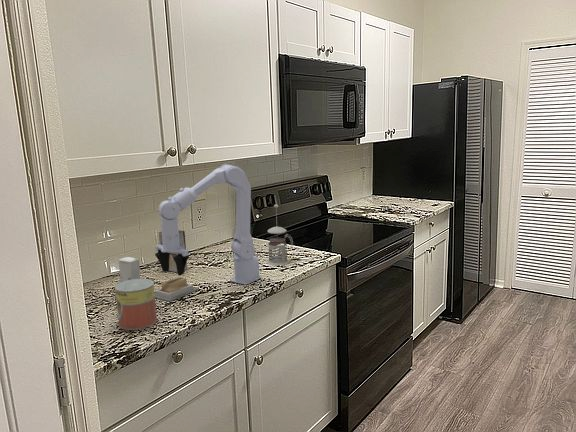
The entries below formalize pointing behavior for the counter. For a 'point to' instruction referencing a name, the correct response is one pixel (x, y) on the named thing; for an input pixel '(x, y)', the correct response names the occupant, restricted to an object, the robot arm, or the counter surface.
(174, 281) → the maple block
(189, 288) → the board
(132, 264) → the skincare box
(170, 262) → the coffee box
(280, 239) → the french press
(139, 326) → the canned food
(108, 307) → the counter surface
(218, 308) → the counter surface
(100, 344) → the counter surface
